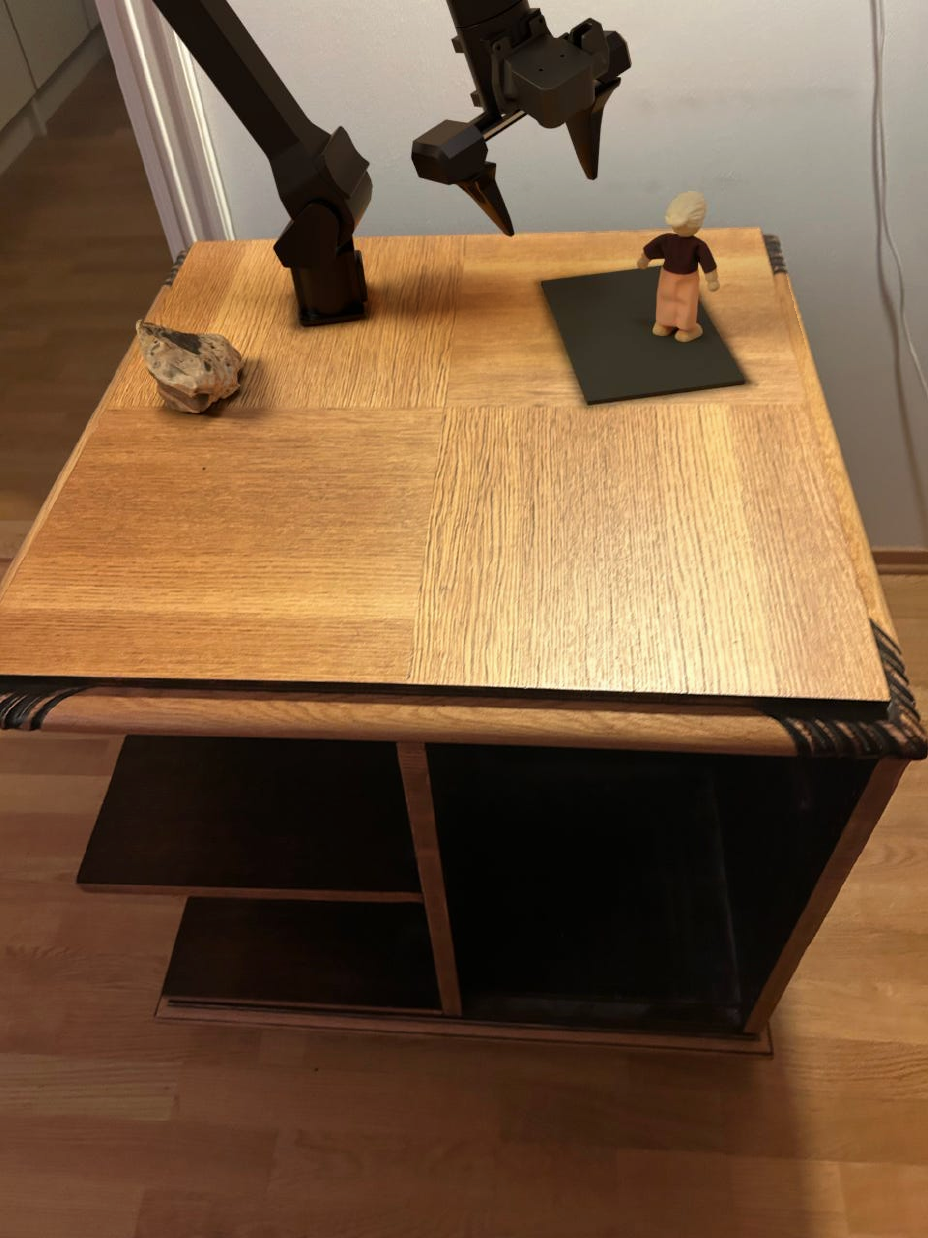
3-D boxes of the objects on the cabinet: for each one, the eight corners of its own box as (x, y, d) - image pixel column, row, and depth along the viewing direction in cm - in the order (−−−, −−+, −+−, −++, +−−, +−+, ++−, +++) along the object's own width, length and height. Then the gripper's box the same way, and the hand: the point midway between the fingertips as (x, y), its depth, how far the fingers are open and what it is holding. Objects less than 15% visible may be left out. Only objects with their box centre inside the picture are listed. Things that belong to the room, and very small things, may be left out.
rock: (148, 346, 86) (100, 337, 76) (209, 302, 85) (169, 287, 75) (203, 427, 87) (162, 429, 77) (264, 385, 86) (231, 381, 76)
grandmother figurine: (717, 325, 85) (741, 188, 75) (707, 348, 83) (731, 210, 73) (636, 311, 87) (649, 176, 77) (624, 333, 85) (636, 197, 75)
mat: (586, 404, 79) (587, 401, 79) (540, 284, 92) (540, 280, 92) (745, 383, 80) (745, 379, 79) (677, 266, 93) (677, 262, 92)
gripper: (443, 77, 62) (518, 284, 72) (653, -59, 64) (696, 160, 75) (372, 70, 70) (449, 258, 80) (562, -50, 73) (612, 147, 83)
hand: (551, 206), depth 79 cm, fingers open, 9 cm apart
